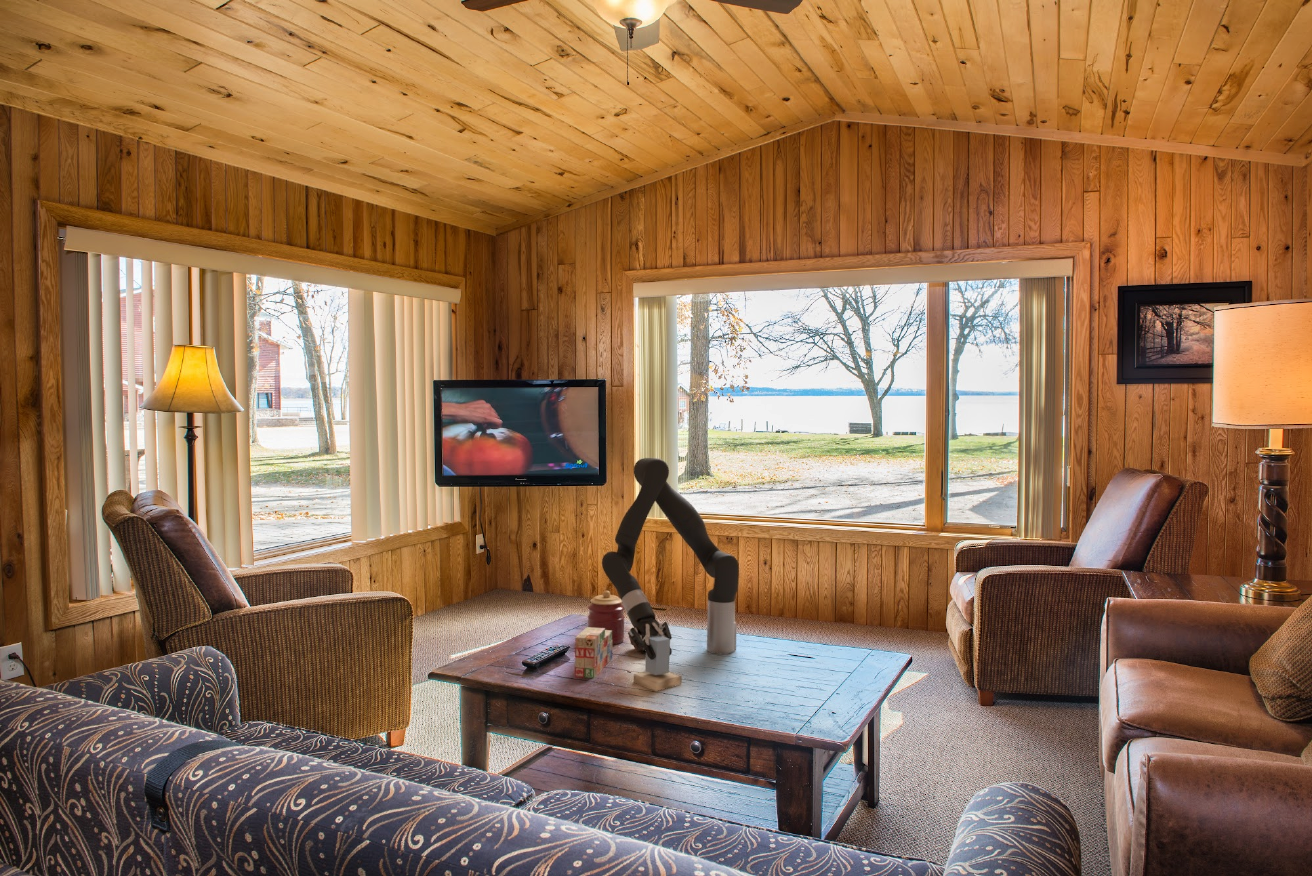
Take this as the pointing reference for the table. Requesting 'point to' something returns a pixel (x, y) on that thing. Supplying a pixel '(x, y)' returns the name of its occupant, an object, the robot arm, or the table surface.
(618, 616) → the canister
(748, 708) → the table surface
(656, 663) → the column
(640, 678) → the base slab
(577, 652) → the stack of blocks
